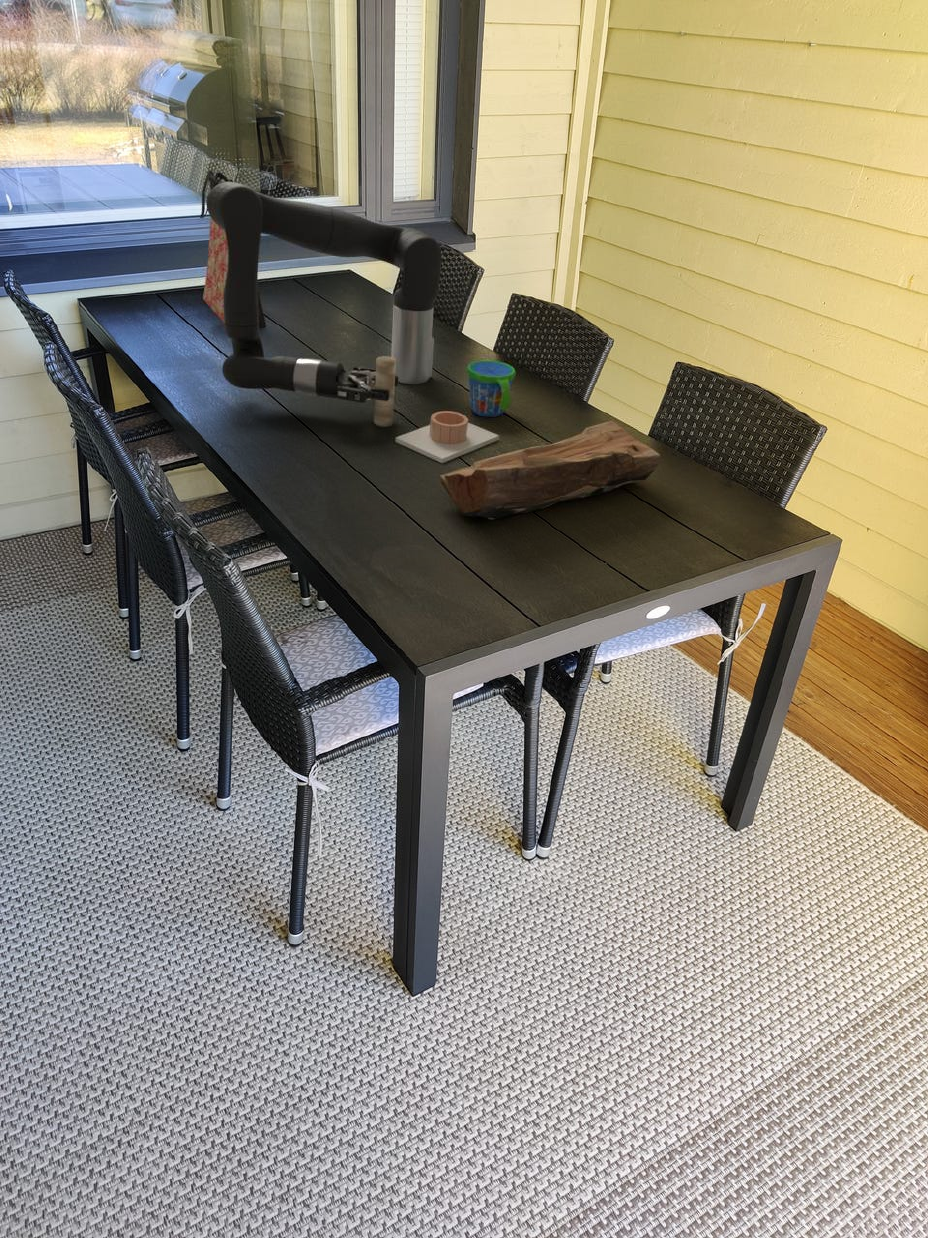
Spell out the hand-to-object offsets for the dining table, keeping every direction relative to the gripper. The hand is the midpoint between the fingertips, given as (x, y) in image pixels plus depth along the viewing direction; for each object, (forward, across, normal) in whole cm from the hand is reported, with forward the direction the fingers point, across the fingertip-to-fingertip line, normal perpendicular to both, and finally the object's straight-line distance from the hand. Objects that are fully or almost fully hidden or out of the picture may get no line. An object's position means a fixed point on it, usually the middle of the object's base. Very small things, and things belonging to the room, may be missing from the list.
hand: (393, 388), depth 206 cm
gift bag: (-55, +56, +8) cm, 79 cm away
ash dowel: (-2, 0, +8) cm, 8 cm away
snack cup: (+19, +14, +8) cm, 25 cm away
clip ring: (+13, -5, +7) cm, 15 cm away
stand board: (+13, -5, +8) cm, 16 cm away
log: (+35, -23, +8) cm, 43 cm away
